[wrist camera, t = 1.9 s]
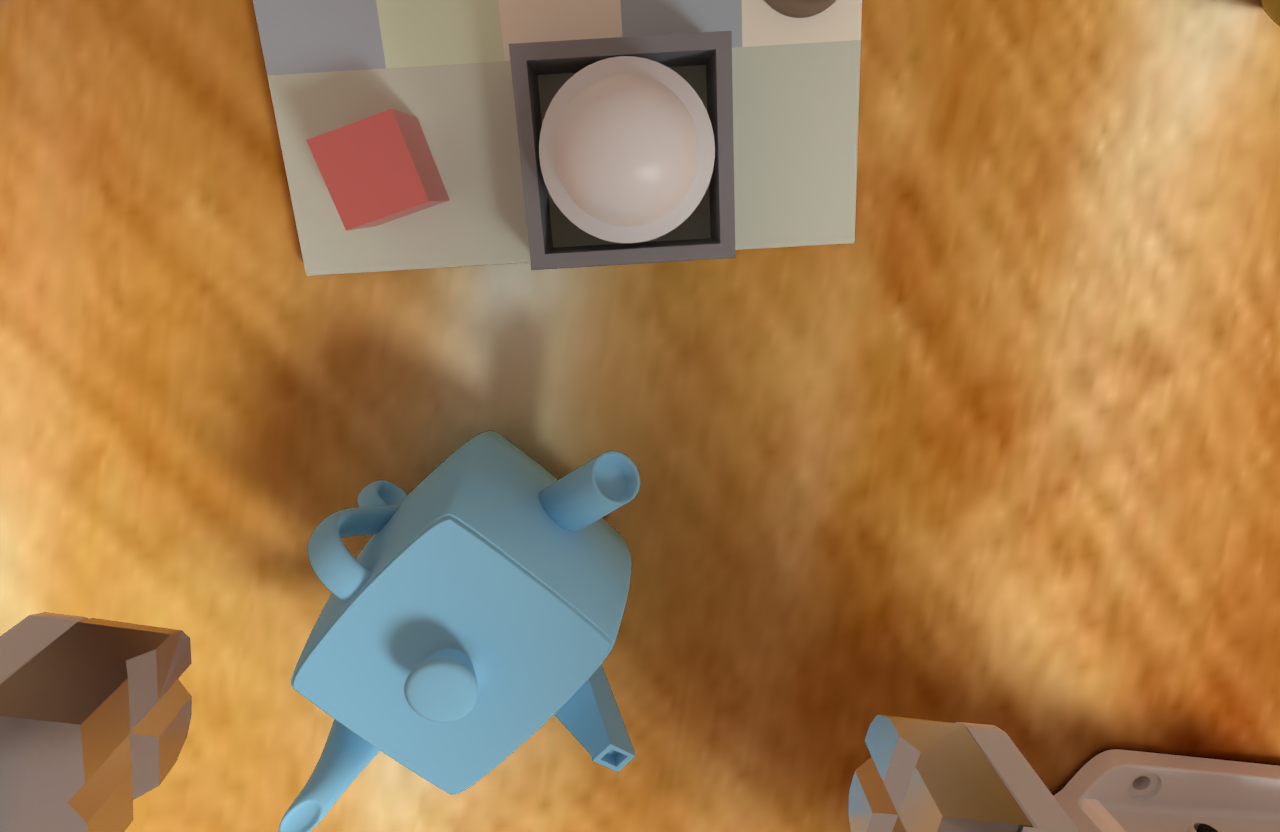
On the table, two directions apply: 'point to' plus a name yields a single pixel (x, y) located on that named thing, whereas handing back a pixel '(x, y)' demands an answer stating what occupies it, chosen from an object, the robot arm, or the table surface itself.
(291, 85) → the board
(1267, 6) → the flower pot
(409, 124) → the red cube
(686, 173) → the dome
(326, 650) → the teapot
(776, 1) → the pawn
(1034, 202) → the table surface
